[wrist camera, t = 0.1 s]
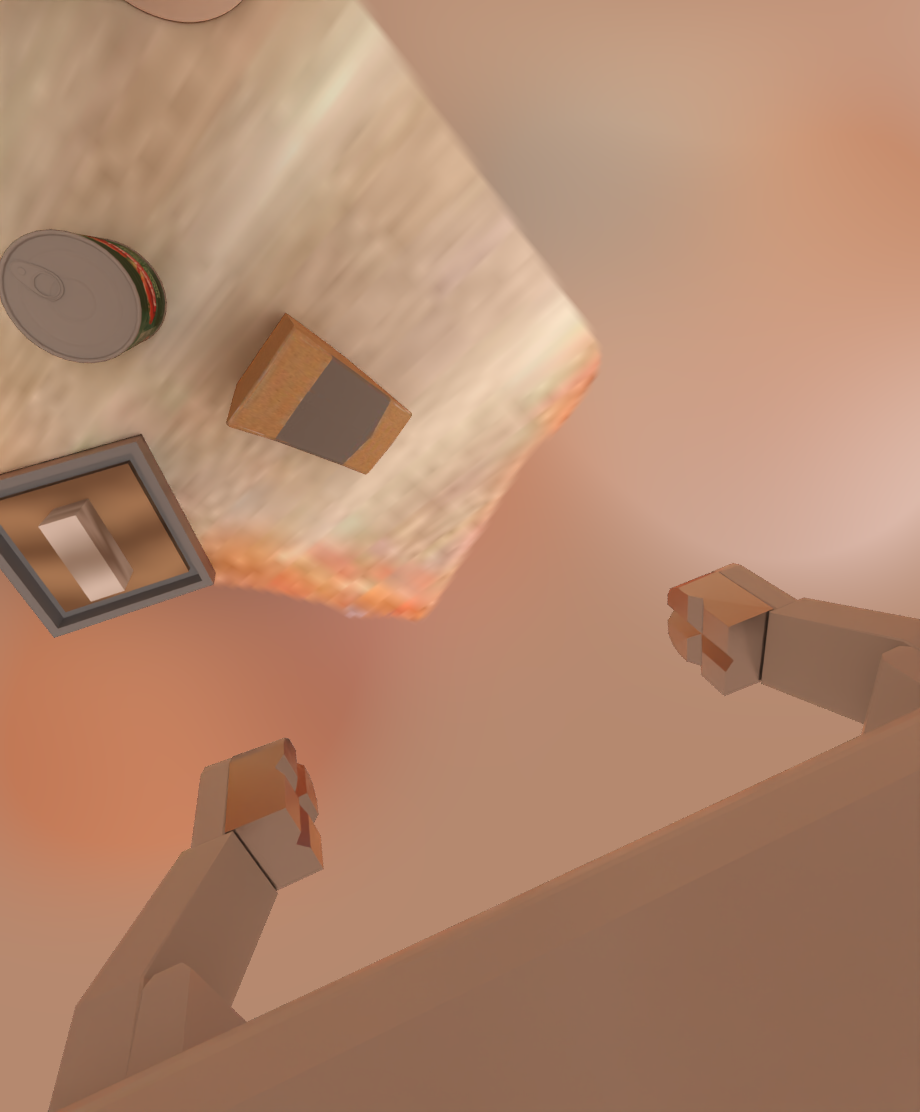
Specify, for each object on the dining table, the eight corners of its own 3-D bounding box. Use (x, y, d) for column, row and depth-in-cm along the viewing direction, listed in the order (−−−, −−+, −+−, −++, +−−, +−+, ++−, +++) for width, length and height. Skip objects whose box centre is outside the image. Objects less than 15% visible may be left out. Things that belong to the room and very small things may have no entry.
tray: (-42, 486, 47) (-57, 496, 45) (141, 434, 50) (135, 441, 48) (62, 623, 55) (54, 637, 53) (215, 572, 58) (213, 584, 56)
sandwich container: (366, 477, 58) (393, 535, 46) (234, 387, 51) (223, 426, 38) (415, 413, 57) (458, 455, 44) (286, 310, 49) (294, 324, 36)
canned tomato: (182, 280, 46) (161, 283, 36) (143, 363, 47) (114, 386, 38) (76, 214, 42) (23, 198, 32) (38, 307, 44) (-23, 317, 34)
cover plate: (-10, 500, 48) (-36, 523, 44) (130, 460, 50) (117, 477, 46) (68, 606, 54) (52, 635, 50) (190, 567, 56) (184, 591, 52)
